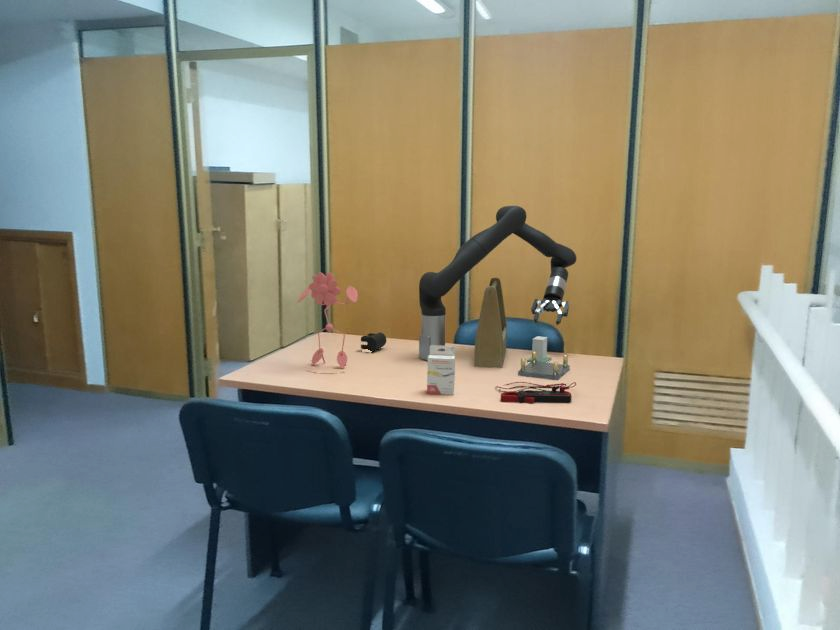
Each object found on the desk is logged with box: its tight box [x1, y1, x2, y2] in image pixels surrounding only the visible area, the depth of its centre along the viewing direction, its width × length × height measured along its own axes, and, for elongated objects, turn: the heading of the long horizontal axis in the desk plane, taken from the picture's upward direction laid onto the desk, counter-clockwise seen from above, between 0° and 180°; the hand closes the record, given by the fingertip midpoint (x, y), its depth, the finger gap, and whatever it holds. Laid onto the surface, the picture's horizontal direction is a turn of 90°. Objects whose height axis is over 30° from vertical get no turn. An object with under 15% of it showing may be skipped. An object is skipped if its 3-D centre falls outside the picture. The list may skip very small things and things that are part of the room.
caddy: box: [474, 277, 508, 369], centre depth 256 cm, size 29×11×30 cm, turn 170°
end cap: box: [360, 331, 387, 352], centre depth 271 cm, size 10×7×7 cm
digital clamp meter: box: [495, 381, 577, 404], centre depth 211 cm, size 23×4×25 cm
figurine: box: [296, 271, 359, 375], centre depth 238 cm, size 15×26×35 cm, turn 66°
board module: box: [526, 335, 552, 363], centre depth 254 cm, size 7×9×9 cm
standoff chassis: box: [517, 351, 571, 381], centre depth 237 cm, size 14×17×6 cm
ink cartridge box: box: [426, 345, 456, 395], centre depth 210 cm, size 9×5×15 cm, turn 84°
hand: (546, 322), depth 261 cm, fingers open, 8 cm apart
